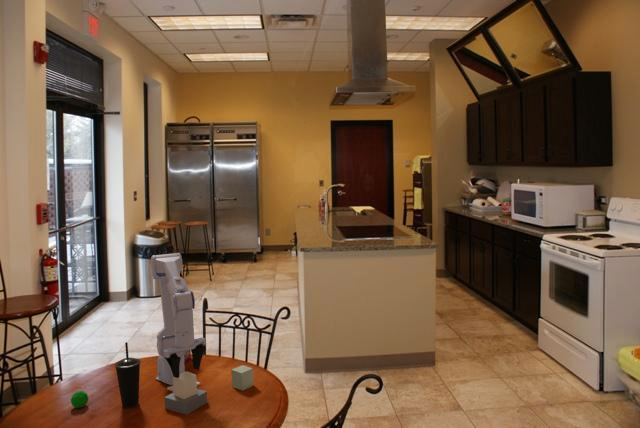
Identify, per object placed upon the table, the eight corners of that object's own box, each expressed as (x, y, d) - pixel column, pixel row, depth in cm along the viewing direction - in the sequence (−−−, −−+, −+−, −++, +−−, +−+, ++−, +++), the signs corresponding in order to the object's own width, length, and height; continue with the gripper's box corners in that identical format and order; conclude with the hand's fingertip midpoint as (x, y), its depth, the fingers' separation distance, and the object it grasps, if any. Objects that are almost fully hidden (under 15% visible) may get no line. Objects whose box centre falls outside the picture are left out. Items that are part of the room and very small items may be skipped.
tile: (167, 389, 172) (167, 387, 172) (189, 380, 179) (189, 378, 179) (178, 394, 169) (178, 391, 169) (200, 384, 176) (200, 382, 176)
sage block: (232, 387, 173) (231, 369, 172) (243, 382, 177) (242, 365, 176) (242, 390, 170) (241, 373, 169) (253, 385, 174) (252, 368, 173)
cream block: (173, 395, 160) (172, 376, 159) (187, 389, 163) (186, 371, 163) (183, 399, 156) (182, 380, 156) (197, 393, 160) (196, 374, 160)
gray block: (165, 409, 159) (164, 397, 158) (186, 398, 166) (185, 386, 166) (186, 416, 154) (186, 403, 154) (207, 403, 162) (206, 391, 162)
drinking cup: (118, 412, 157) (114, 348, 155) (116, 402, 164) (111, 341, 162) (145, 406, 160) (141, 344, 158) (141, 397, 167) (137, 337, 165)
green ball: (71, 405, 163) (70, 390, 162) (88, 401, 165) (87, 387, 164) (71, 411, 158) (70, 396, 158) (88, 408, 160) (87, 393, 160)
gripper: (172, 339, 151) (174, 384, 153) (211, 326, 163) (213, 368, 164) (158, 335, 156) (160, 378, 157) (197, 322, 167) (199, 363, 168)
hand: (186, 372), depth 161 cm, fingers open, 7 cm apart
